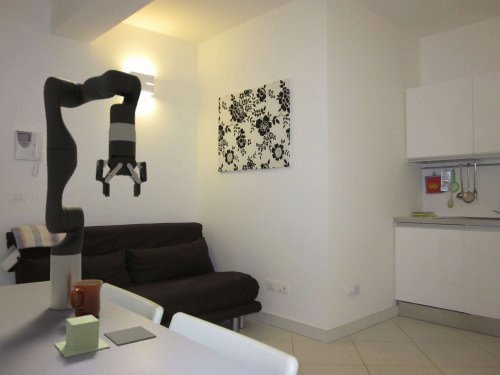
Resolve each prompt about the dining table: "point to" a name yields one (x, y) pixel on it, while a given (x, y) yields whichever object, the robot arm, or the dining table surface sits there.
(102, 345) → the sage pad
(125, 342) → the grey pad
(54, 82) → the robot arm
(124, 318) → the dining table surface
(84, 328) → the pale green cube
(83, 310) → the mug
